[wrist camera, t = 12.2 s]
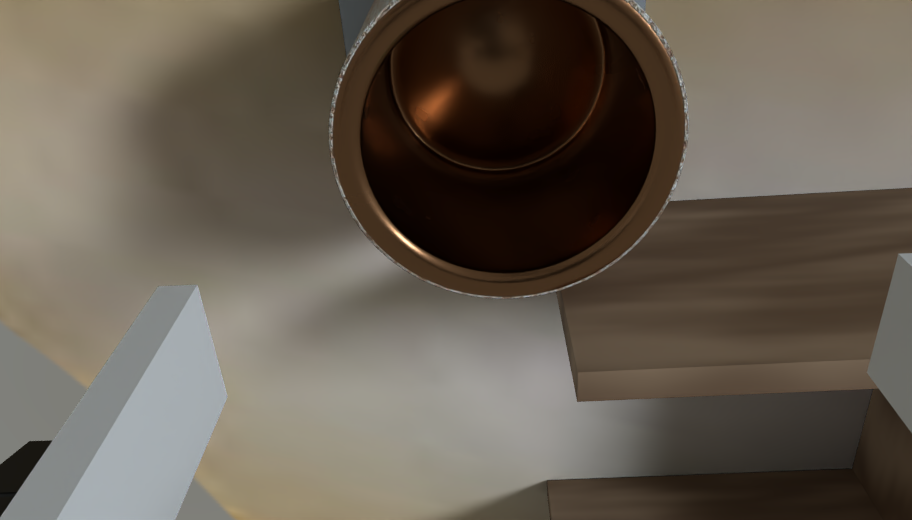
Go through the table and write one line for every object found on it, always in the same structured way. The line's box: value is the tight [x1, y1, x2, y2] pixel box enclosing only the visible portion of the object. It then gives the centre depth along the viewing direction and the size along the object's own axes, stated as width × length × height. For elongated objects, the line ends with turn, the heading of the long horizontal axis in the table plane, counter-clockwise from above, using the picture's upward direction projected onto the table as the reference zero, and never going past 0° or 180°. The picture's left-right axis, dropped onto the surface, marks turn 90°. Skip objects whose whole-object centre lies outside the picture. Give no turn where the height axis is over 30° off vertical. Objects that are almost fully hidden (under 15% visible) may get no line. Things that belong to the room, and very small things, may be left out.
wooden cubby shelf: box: [547, 188, 912, 520], centre depth 33 cm, size 18×18×12 cm
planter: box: [329, 0, 689, 299], centre depth 26 cm, size 11×11×10 cm
